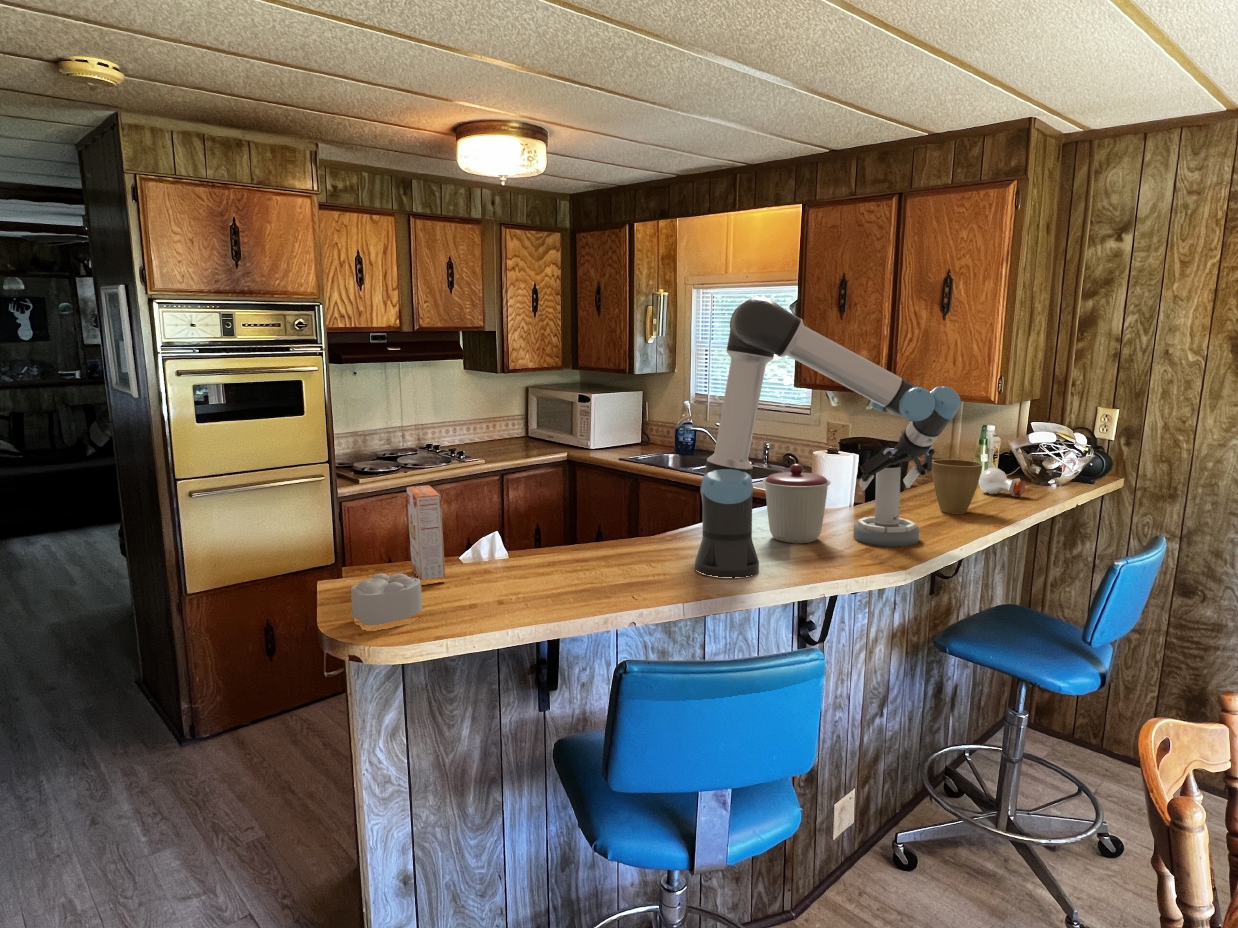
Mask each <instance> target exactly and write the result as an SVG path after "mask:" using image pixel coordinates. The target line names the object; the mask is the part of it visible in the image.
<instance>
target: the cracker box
mask: <svg viewBox="0 0 1238 928" xmlns="http://www.w3.org/2000/svg"><path fill="white" fill-rule="evenodd" d="M441 496H442V495H440V494H439V492H437V490H435V489H434V488H433V487H432V486H431V485H430V484H429V485H427V484H426V485H414V486H408V487H406V498H407V500H406V501H407V512H408V514H407V515H408V530H409V541H410V542H409V543H410V560H411V571H414V572H415V574H416V575H417V576H418V577H419V579H420V580H426V579H433V578H438V577H445V578H446V571H445V567H446V566H445V554H444V553H445V551H444V536H443V519H442V518H443V516H442V498H441ZM414 572H413V573H414ZM415 574H414V575H415Z"/></svg>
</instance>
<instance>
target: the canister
mask: <svg viewBox="0 0 1238 928" xmlns="http://www.w3.org/2000/svg"><path fill="white" fill-rule="evenodd" d="M762 482H763V484H764V485H765V486H764V488H765V489H764V491H765V498H766V509H767V511H766V512H767V518H768V526H769V531H770V534H771V536H772V537H773V539H775V540H777V541H780V542H783V543H790V544H806V543H807V544H808V543H812V542H815V541H817V540H818V539H819V537H820V536H821V533H822V529H823V524H824V523H823V522H824V518H825V517H824V516H825V510H826V502H827V495H828V487H829V486H830V484H831V480H829V479H827V478H826V477H825V476H823V475H821V474H818V473H811V472H804V466H803V465H802V464H800V463H794V464H792V465H790V467H789V471H787V472H786V471H785V472H776V473H772V474H770V475H768V476H767V477H765V478H763V479H762Z"/></svg>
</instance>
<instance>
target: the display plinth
mask: <svg viewBox="0 0 1238 928" xmlns="http://www.w3.org/2000/svg"><path fill="white" fill-rule="evenodd" d="M852 534H853V537H852V538H853V539H854V541H858V542H860V543H863V544H866V545H871V546H880V547H889V548H890V547H891V548H892V547H898V546H900V547H908V546H909V547H910V546H913V545H917V544H918V543H919V540H920V527H919V526H918V525H916V523H915V522H914V521H912V520H910V519H906V518H901V517H899V527H881V526H875V516H868V517H867V516H864V517H862V518H859V519H857V521H856V522H854V523H853V533H852Z"/></svg>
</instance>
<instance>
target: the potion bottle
mask: <svg viewBox="0 0 1238 928" xmlns="http://www.w3.org/2000/svg"><path fill="white" fill-rule="evenodd" d="M978 486H979V487H980V491H983V492H984V493H986V494H987V493H994V494H996V493H999V494H1000V493H1003V491H1004V492H1007V493H1009V494H1010V495H1011V496H1014V497H1015V496H1016V497H1019V498H1020V497H1021V496H1022V495H1023V494H1024V493H1025V492H1026V481H1025V480H1023V481H1021V479H1020V477H1019V478H1014V479H1011V478H1008V477H1007V475H1006V473H1005V471H1003V470H1002V469H1000V468H998V467H988V468H987V469H985V470H983V471H982V472H981V474H980V478H979V482H978ZM994 494H993V495H994Z"/></svg>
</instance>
